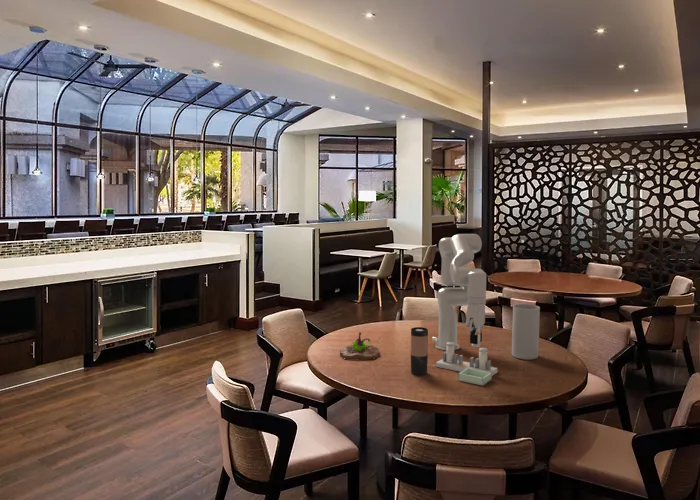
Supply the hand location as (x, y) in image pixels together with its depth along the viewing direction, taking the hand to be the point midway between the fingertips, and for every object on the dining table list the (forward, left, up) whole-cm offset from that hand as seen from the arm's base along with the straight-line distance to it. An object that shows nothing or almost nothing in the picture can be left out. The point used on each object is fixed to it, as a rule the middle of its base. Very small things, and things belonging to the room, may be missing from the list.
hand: (475, 342), depth 226 cm
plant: (-62, +2, -17) cm, 65 cm away
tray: (0, 0, -17) cm, 17 cm away
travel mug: (-24, -6, -17) cm, 30 cm away
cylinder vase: (+6, +47, -17) cm, 50 cm away
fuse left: (-17, +11, -15) cm, 25 cm away
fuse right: (-1, +11, -15) cm, 18 cm away
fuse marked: (0, 0, -2) cm, 2 cm away
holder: (-9, +11, -17) cm, 22 cm away
